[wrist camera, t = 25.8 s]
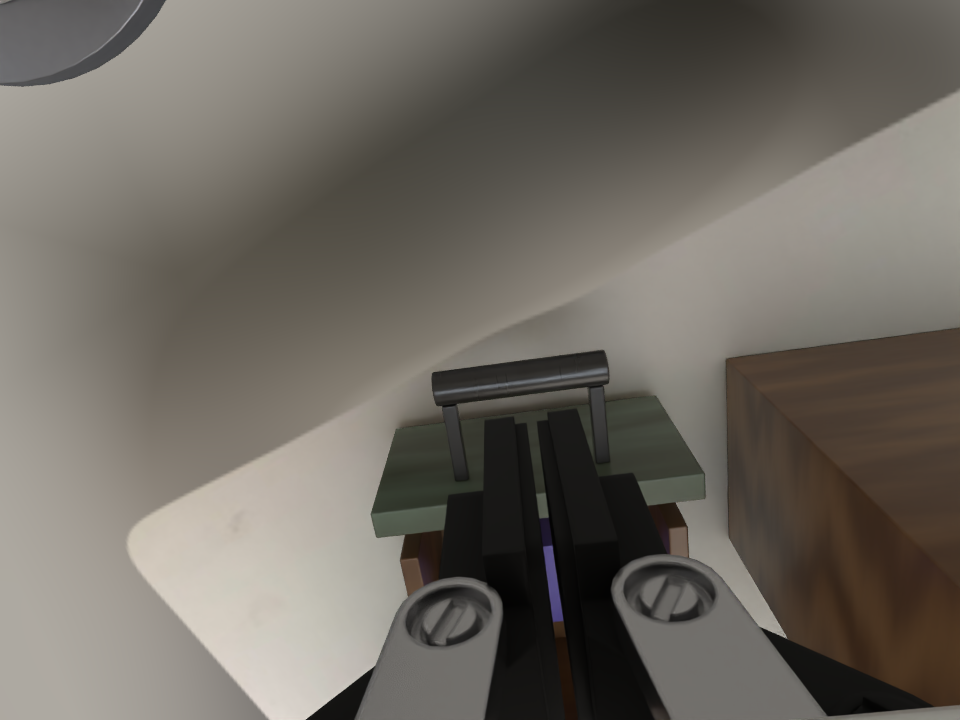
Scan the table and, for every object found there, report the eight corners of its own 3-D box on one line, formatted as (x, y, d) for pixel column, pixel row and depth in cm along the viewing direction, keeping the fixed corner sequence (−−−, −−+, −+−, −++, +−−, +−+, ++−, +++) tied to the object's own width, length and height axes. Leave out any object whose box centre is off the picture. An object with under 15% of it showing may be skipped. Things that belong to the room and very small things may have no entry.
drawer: (376, 339, 32) (343, 403, 24) (650, 301, 31) (701, 356, 24) (441, 646, 38) (431, 770, 31) (669, 622, 37) (713, 743, 30)
